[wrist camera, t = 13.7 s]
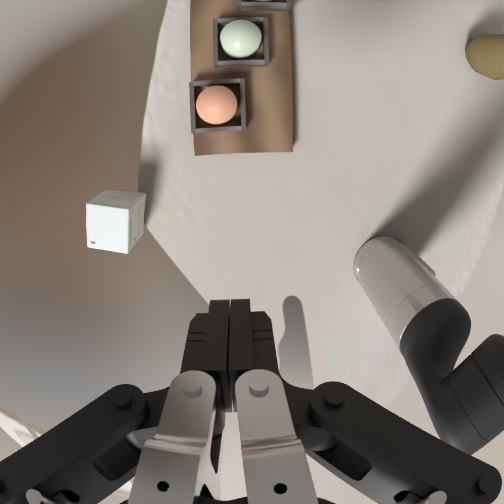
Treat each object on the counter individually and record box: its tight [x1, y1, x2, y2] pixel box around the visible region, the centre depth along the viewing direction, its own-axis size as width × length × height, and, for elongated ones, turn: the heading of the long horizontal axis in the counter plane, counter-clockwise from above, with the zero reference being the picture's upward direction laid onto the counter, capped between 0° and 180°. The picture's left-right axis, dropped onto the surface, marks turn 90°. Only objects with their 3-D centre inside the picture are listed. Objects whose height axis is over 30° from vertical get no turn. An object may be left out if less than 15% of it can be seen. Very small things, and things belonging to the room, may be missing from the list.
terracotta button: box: [196, 86, 237, 124], centre depth 30 cm, size 4×4×3 cm
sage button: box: [220, 20, 261, 59], centre depth 26 cm, size 4×4×3 cm
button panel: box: [189, 0, 293, 156], centre depth 28 cm, size 12×28×4 cm, turn 1°
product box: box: [86, 189, 146, 254], centre depth 35 cm, size 6×6×7 cm
